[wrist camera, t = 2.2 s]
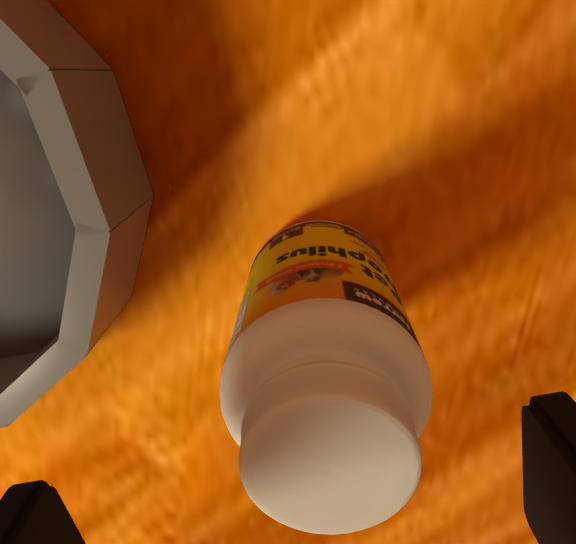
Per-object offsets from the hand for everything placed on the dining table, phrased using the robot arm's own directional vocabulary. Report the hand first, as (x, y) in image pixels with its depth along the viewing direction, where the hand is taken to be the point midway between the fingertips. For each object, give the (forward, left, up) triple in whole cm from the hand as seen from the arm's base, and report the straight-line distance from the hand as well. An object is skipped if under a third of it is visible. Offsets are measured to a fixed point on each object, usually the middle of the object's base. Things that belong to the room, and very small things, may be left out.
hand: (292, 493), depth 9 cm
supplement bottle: (-1, 0, -11) cm, 11 cm away
